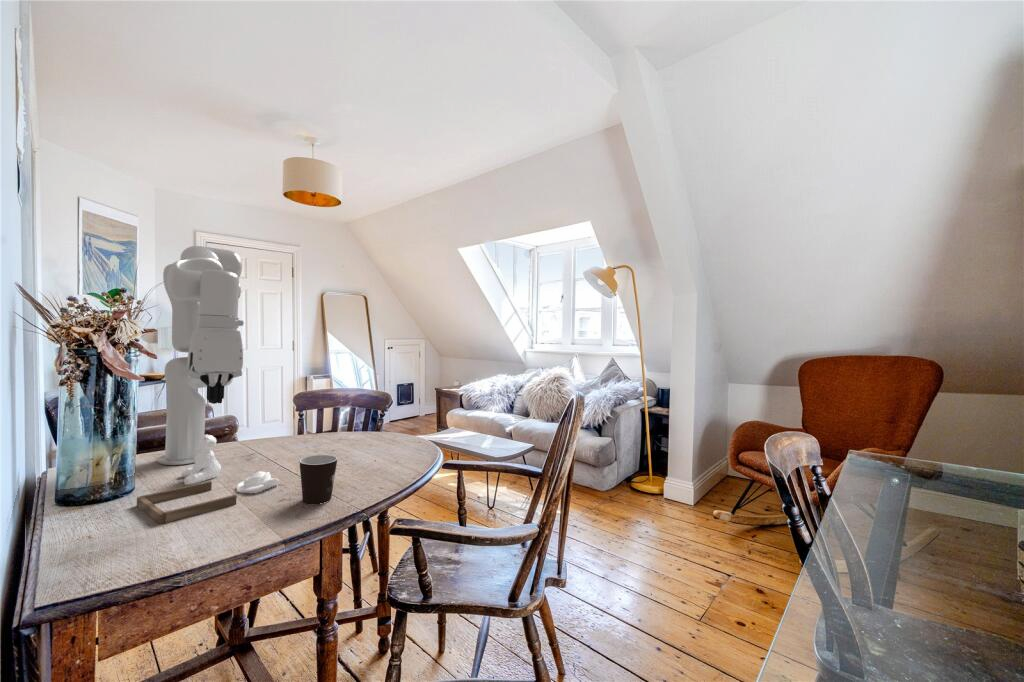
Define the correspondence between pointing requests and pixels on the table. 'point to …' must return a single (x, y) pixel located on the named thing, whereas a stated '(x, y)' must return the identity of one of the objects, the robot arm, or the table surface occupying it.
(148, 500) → the walnut bay
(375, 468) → the table surface
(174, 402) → the robot arm
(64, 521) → the table surface
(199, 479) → the seated beast figurine
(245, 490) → the rose
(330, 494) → the coffee mug
